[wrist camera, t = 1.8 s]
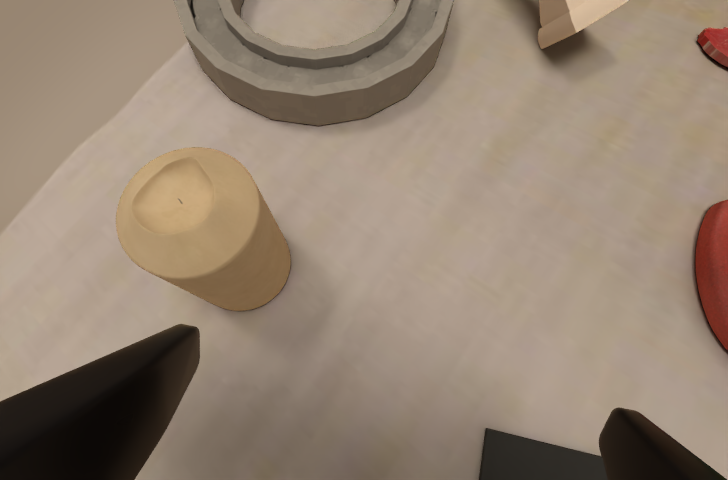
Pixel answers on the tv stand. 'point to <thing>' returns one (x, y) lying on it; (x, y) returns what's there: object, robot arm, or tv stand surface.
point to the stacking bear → (714, 268)
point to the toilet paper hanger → (570, 17)
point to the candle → (204, 228)
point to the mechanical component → (315, 62)
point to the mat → (535, 460)
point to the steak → (715, 44)
